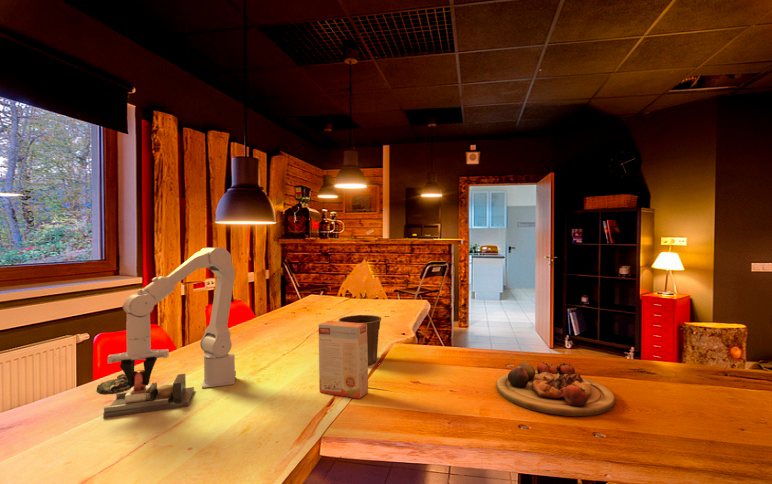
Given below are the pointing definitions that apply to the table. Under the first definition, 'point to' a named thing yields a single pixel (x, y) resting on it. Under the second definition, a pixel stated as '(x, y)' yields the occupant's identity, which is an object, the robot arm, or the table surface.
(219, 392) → the table surface
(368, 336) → the plant pot
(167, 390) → the tan rounded lump
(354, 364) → the cracker box
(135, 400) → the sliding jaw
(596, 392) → the wooden plate with food
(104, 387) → the log
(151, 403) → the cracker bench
